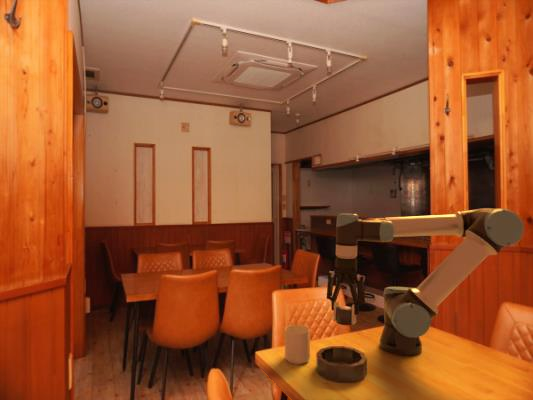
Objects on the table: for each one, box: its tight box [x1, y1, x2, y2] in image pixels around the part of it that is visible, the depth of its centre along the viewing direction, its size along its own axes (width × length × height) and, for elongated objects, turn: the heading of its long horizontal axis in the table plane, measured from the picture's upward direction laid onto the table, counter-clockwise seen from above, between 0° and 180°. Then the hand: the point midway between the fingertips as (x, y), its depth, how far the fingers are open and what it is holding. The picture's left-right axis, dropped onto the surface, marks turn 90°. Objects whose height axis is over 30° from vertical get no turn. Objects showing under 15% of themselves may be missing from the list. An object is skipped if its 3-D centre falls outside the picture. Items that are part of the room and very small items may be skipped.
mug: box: [284, 324, 311, 365], centre depth 132 cm, size 12×9×11 cm
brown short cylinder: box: [335, 305, 353, 326], centre depth 130 cm, size 6×6×5 cm
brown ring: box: [315, 345, 368, 384], centre depth 121 cm, size 16×16×5 cm
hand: (344, 321), depth 130 cm, fingers closed on brown short cylinder, 6 cm apart
